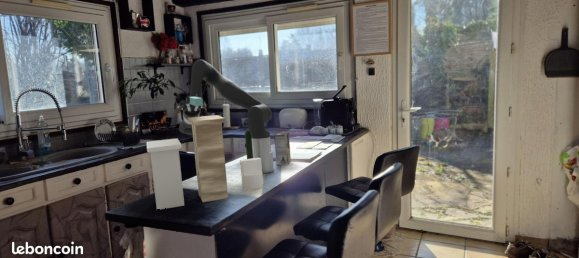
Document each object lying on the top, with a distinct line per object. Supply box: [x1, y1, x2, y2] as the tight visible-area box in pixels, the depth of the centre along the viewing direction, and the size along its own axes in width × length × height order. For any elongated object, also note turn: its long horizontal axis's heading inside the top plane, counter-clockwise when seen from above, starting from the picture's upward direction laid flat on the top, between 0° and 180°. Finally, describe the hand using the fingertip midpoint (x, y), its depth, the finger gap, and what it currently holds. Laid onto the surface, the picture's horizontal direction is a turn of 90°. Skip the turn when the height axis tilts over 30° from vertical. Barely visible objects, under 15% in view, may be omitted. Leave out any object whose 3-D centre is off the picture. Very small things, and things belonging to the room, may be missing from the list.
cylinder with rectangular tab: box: [239, 158, 264, 190], centre depth 170 cm, size 9×9×12 cm
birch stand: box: [188, 114, 229, 203], centre depth 158 cm, size 18×12×32 cm, turn 20°
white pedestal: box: [146, 138, 185, 210], centre depth 153 cm, size 18×12×24 cm, turn 20°
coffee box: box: [273, 132, 292, 166], centre depth 212 cm, size 9×6×16 cm
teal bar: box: [189, 97, 203, 106], centre depth 170 cm, size 24×3×3 cm, turn 20°
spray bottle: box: [244, 117, 253, 159], centre depth 227 cm, size 10×10×25 cm
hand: (193, 97), depth 176 cm, fingers closed on teal bar, 3 cm apart
